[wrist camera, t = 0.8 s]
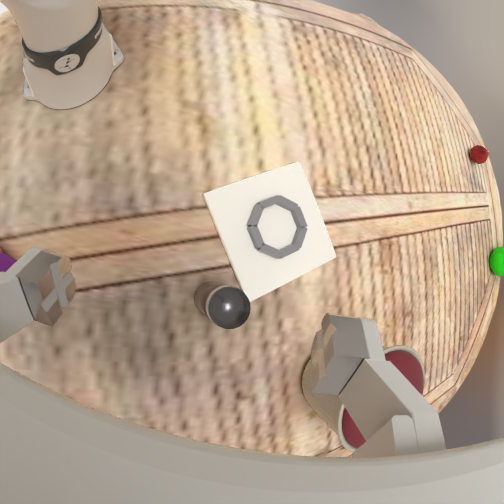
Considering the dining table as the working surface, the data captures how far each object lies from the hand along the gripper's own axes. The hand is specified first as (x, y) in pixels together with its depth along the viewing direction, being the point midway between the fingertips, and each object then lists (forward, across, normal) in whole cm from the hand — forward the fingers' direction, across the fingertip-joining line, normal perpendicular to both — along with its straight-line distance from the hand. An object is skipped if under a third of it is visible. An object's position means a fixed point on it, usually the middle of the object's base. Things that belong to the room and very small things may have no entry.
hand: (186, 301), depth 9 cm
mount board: (+38, -4, +17) cm, 42 cm away
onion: (+80, -64, -2) cm, 103 cm away
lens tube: (+28, +3, +26) cm, 38 cm away
